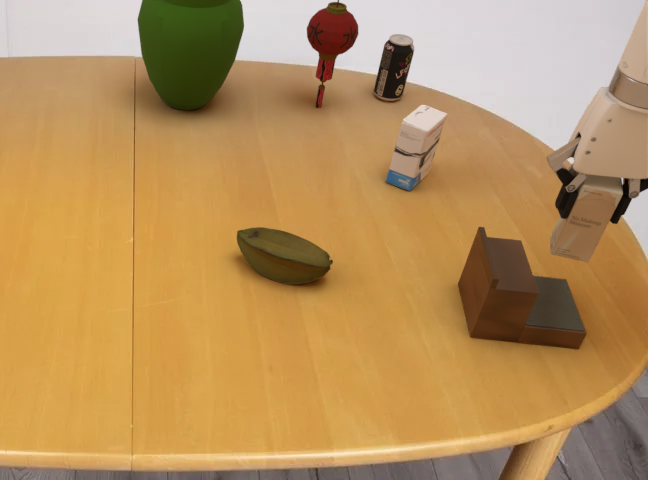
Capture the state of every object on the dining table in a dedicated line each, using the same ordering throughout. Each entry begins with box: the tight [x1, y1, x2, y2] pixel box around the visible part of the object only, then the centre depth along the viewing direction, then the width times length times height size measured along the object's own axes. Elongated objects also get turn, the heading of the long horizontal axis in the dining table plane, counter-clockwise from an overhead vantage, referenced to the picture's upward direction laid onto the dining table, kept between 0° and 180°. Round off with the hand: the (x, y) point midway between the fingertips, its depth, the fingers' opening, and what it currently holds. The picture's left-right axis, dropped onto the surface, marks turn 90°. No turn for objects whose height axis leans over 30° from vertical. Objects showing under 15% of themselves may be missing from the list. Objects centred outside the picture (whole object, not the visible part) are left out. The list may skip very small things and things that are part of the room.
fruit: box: [236, 226, 334, 286], centre depth 130 cm, size 11×12×7 cm
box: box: [549, 175, 623, 263], centre depth 115 cm, size 5×4×11 cm
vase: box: [137, 0, 245, 111], centre depth 162 cm, size 20×20×24 cm
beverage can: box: [373, 33, 415, 102], centre depth 171 cm, size 6×6×12 cm
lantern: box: [306, 0, 359, 109], centre depth 161 cm, size 10×10×30 cm
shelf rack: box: [457, 226, 588, 350], centre depth 123 cm, size 15×12×11 cm
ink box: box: [385, 104, 448, 192], centre depth 149 cm, size 8×5×12 cm, turn 143°
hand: (586, 214), depth 114 cm, fingers closed on box, 5 cm apart
